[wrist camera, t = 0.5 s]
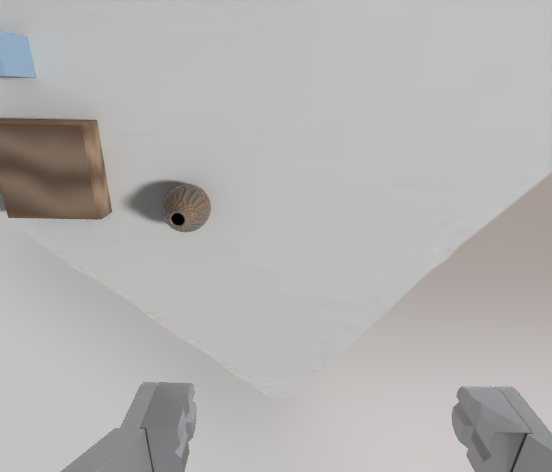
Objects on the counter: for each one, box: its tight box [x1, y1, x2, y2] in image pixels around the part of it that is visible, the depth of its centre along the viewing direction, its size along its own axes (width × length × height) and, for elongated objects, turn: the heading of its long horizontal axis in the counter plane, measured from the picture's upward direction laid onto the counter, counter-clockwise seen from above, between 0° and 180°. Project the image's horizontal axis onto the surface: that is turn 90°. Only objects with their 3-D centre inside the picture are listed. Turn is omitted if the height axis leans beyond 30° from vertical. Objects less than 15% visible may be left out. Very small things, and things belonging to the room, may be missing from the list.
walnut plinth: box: [0, 118, 112, 219], centre depth 52 cm, size 14×14×4 cm
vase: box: [162, 184, 211, 232], centre depth 52 cm, size 7×7×9 cm
